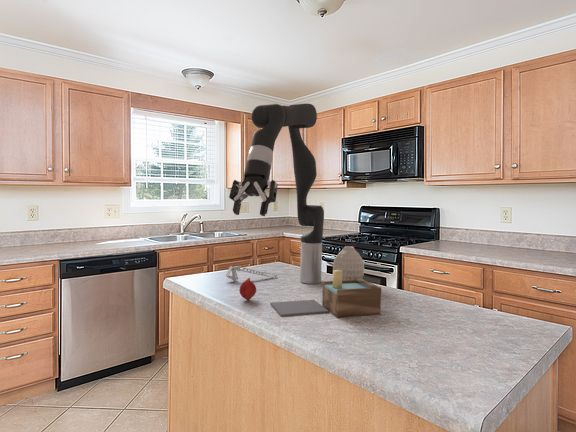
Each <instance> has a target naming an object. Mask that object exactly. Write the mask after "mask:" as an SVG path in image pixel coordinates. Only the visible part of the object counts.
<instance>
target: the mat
mask: <svg viewBox="0 0 576 432" xmlns="http://www.w3.org/2000/svg"><path fill="white" fill-rule="evenodd" d="M269 305H270V306H271V308H273V310H275V312H276V313H277V314H278V315H279V316H280V317H291V316H303V315H315V314H316V315H317V314H318V315H319V314H326V313H327V314H328V313H330V312H329V311H328V310H327V309H326V308H324V307H323V306H322V304H320V303H319V302H318V301H316V300H315V299H304V300H303V299H302V300H292V301H291V300H289V301H287V300H285V301H273V302H270V304H269Z"/></svg>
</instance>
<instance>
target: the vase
mask: <svg viewBox="0 0 576 432" xmlns="http://www.w3.org/2000/svg"><path fill="white" fill-rule="evenodd" d="M333 270H341V271H342V280H354V277H359V278H361V279H363V277H364V275H365V264H364V260H363V258H362V256H361V254H360V253H359V251H357V250H356V249H355V246H349V245H348V246H346V245H345V246H344V247H343V249H342V250H340V251H339V252H338V254H337V255H336V256H335V258H334V260H333V264H332V271H333Z"/></svg>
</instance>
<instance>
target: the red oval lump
mask: <svg viewBox="0 0 576 432" xmlns="http://www.w3.org/2000/svg"><path fill="white" fill-rule="evenodd" d="M256 293H257V287H256V284H255V283H254V282H253V281H252V280H251V277H248V278H246V280H244V281H243V282H242V283H241V285H240V286H239V294H240V296H241V297H242V298H243V299H244V300H246V301H250V300H251V299H252V298H253V297H254V296H255V295H256Z"/></svg>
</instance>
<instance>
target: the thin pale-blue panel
mask: <svg viewBox="0 0 576 432" xmlns="http://www.w3.org/2000/svg"><path fill="white" fill-rule="evenodd" d="M332 281H333V284H325V285H324V287H325V288H327V289H329V290H330V291H332V292H333V293H335V294H337V290H341V289H357V288H370V287H368V286H366V285H364V284H362V283H343V284H342V271H341V270H333V269H332Z"/></svg>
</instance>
